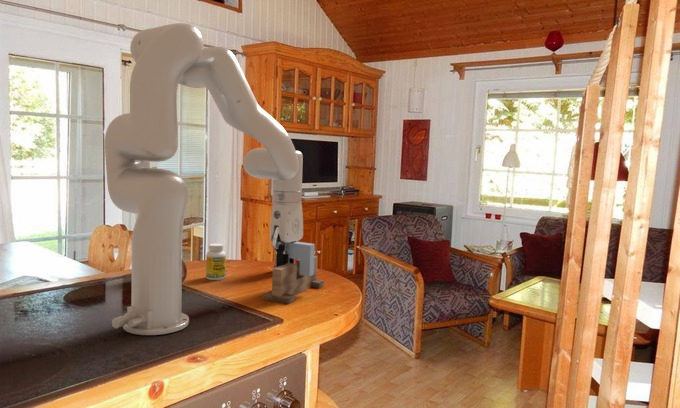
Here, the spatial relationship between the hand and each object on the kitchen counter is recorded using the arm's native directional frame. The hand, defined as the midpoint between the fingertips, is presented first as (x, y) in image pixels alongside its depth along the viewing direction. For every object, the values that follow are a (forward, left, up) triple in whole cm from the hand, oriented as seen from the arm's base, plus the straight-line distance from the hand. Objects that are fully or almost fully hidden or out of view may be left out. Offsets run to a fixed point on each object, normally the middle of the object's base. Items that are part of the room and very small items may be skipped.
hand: (285, 267), depth 133 cm
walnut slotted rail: (0, -3, -6) cm, 7 cm away
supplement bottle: (+1, +23, -6) cm, 23 cm away
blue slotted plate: (0, -3, -1) cm, 3 cm away
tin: (-12, +31, -6) cm, 33 cm away
